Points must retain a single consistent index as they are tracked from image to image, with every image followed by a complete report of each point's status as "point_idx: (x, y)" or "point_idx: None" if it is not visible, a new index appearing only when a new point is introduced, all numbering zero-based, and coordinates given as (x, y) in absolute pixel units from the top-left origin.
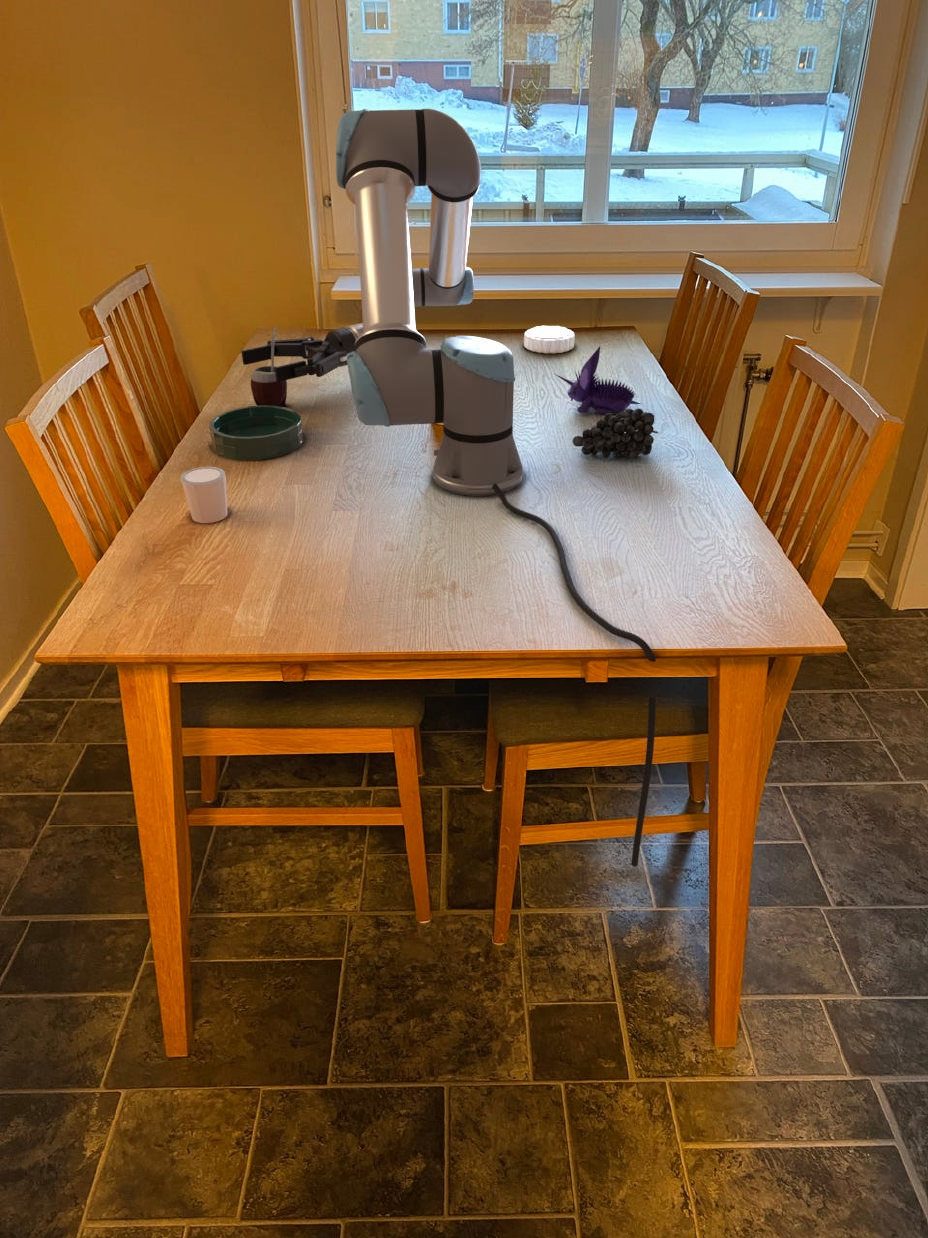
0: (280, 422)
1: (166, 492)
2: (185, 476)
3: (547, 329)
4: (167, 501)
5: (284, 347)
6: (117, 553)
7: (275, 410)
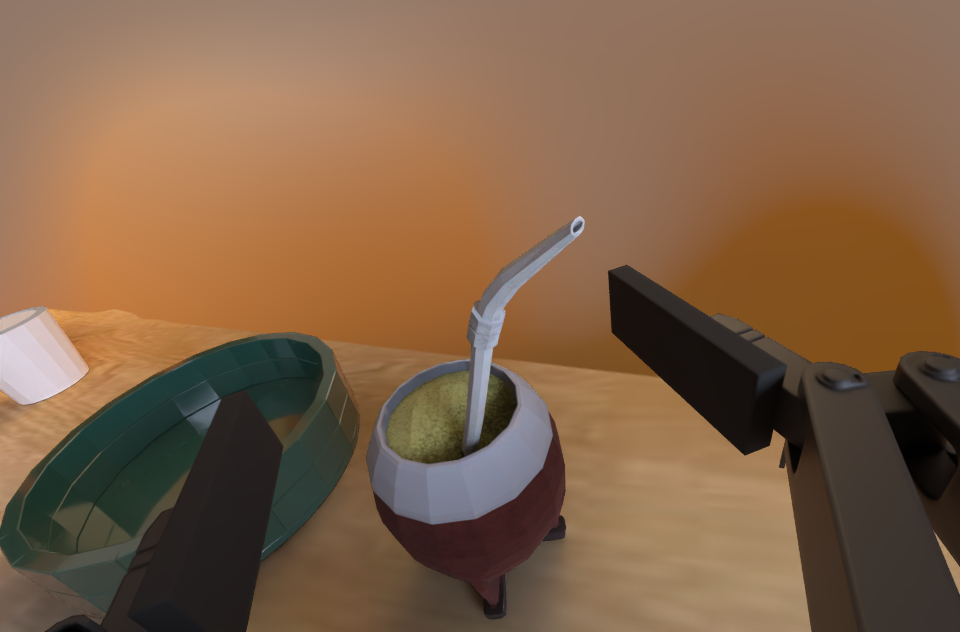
0: None
1: (193, 335)
2: (32, 310)
3: None
4: (164, 339)
5: (814, 496)
6: (109, 317)
7: None
